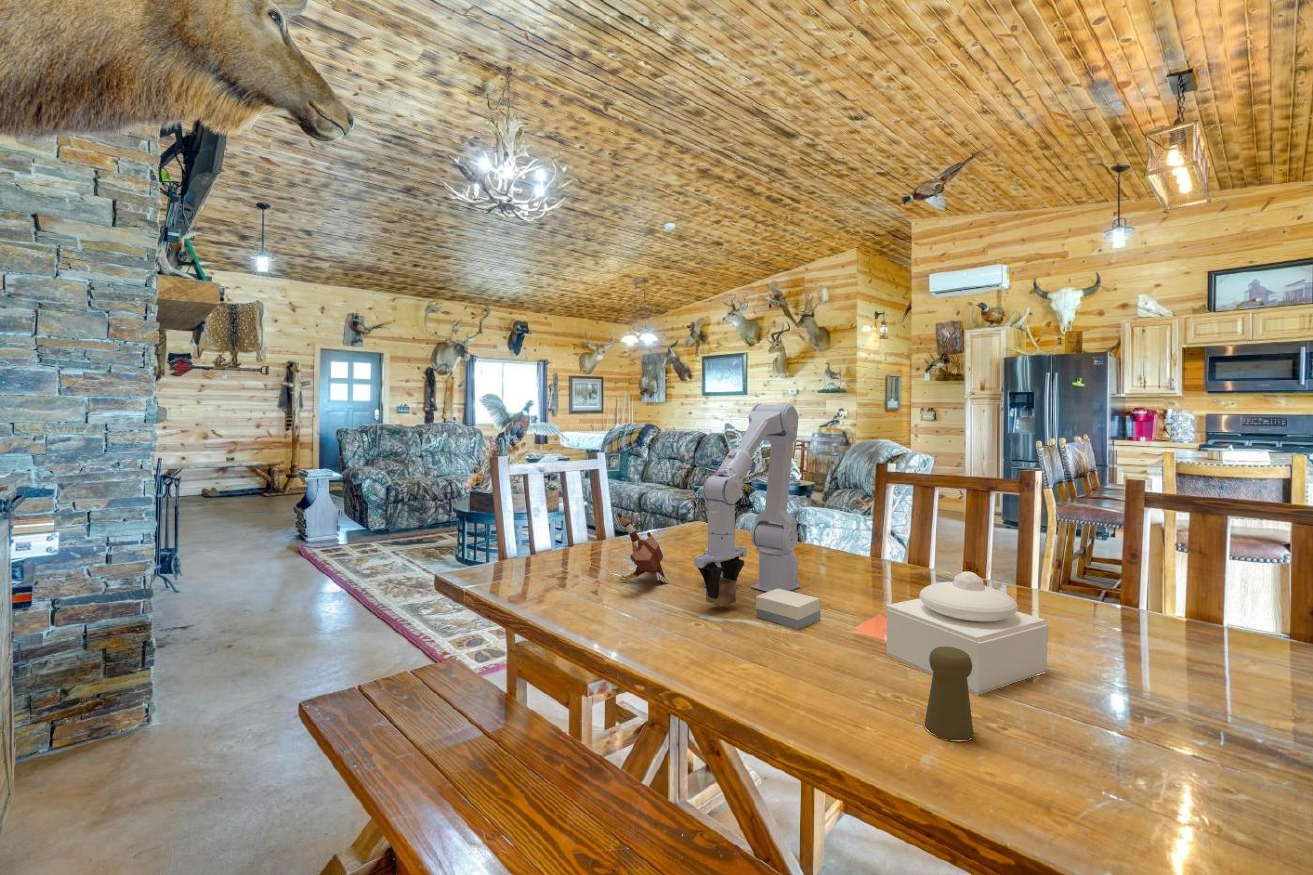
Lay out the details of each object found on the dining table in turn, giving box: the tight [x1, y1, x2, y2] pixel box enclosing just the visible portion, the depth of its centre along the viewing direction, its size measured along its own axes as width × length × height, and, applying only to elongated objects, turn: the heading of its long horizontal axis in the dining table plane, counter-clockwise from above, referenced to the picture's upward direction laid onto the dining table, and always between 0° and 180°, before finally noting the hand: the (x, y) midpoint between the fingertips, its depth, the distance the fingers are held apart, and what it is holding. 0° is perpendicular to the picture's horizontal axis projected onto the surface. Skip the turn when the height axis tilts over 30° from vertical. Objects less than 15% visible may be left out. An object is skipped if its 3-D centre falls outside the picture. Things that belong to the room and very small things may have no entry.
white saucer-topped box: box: [885, 570, 1049, 696], centre depth 105 cm, size 18×18×16 cm
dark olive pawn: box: [924, 646, 975, 740], centre depth 83 cm, size 6×6×11 cm
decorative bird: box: [616, 511, 669, 585], centre depth 153 cm, size 28×18×15 cm, turn 172°
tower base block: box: [756, 608, 821, 631], centre depth 127 cm, size 8×10×2 cm
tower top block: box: [755, 588, 821, 620], centre depth 127 cm, size 8×10×2 cm
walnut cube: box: [705, 577, 737, 607], centre depth 133 cm, size 4×4×4 cm
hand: (720, 594), depth 133 cm, fingers closed on walnut cube, 4 cm apart
